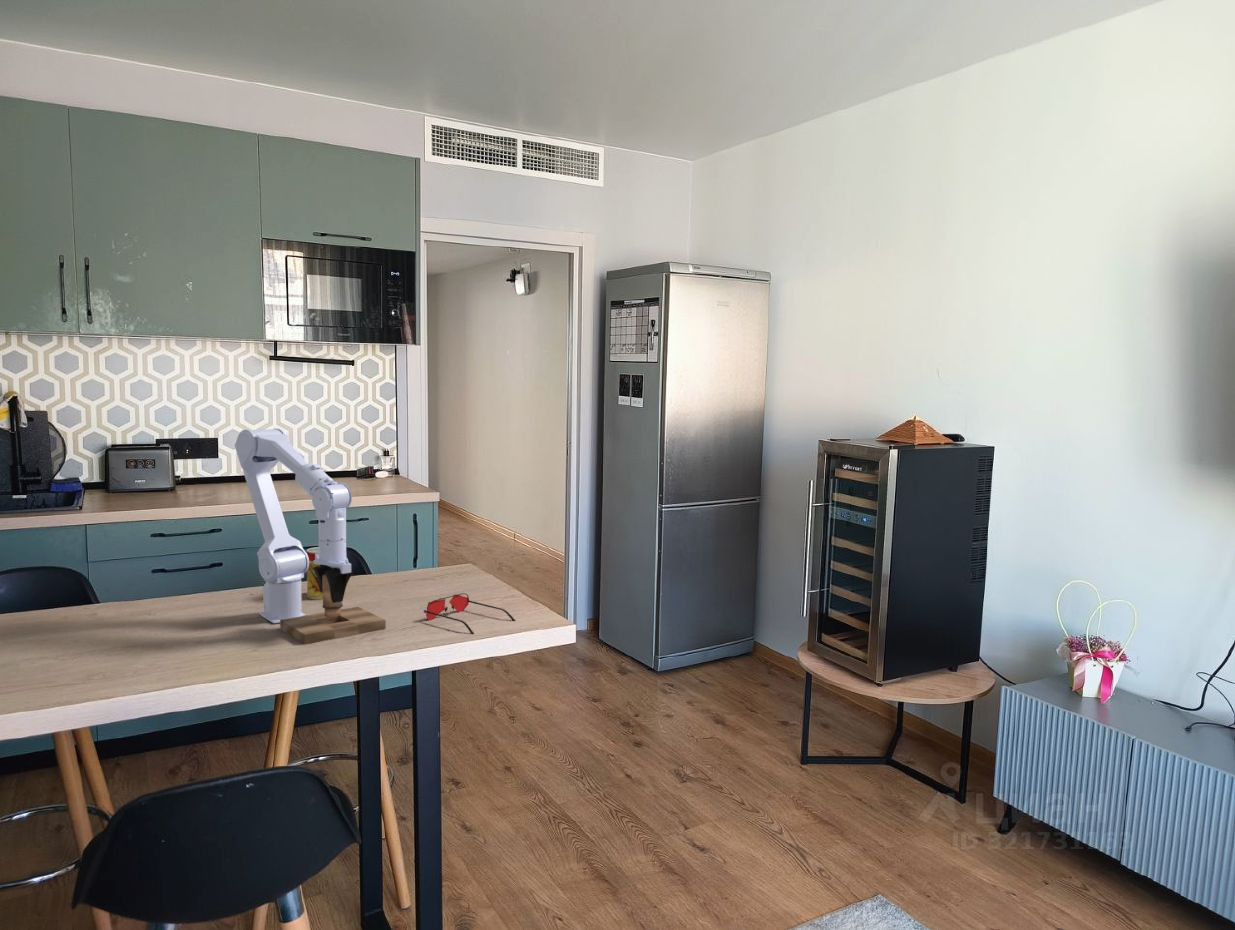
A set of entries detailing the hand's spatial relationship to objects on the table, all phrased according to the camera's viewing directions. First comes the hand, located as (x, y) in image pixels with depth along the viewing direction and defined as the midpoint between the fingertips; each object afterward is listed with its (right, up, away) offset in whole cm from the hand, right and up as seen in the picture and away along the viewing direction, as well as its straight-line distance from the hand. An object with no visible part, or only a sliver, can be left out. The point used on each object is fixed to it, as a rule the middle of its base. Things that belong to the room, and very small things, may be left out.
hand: (333, 599), depth 181 cm
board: (0, -7, +1) cm, 6 cm away
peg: (0, -3, 0) cm, 4 cm away
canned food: (-12, -4, +29) cm, 31 cm away
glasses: (+28, -7, +9) cm, 31 cm away
